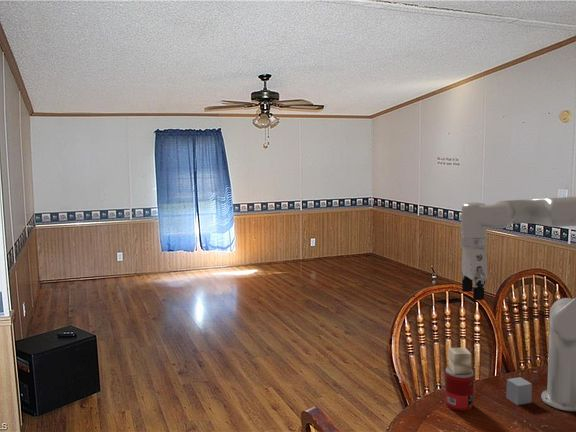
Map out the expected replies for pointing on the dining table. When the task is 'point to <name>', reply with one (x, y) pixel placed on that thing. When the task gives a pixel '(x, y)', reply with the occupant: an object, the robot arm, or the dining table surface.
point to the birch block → (459, 360)
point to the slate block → (519, 391)
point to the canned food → (459, 390)
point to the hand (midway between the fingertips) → (472, 295)
